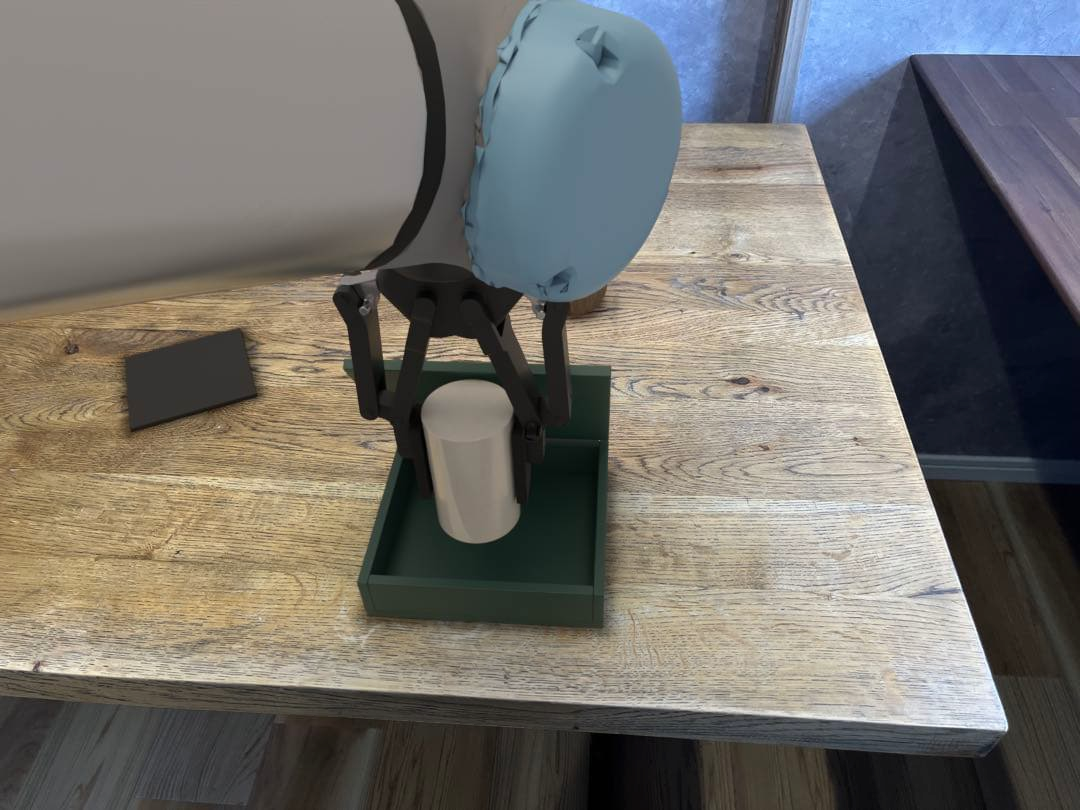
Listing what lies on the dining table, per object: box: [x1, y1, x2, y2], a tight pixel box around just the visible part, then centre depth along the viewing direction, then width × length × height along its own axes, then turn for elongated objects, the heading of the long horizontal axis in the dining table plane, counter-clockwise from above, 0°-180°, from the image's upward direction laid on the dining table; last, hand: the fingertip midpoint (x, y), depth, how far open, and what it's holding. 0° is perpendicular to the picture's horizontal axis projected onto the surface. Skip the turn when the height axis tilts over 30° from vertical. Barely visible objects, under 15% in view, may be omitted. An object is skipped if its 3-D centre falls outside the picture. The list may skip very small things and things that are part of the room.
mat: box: [124, 327, 258, 432], centre depth 84 cm, size 12×12×1 cm
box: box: [356, 438, 610, 629], centre depth 66 cm, size 16×18×4 cm
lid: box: [342, 358, 612, 441], centre depth 62 cm, size 16×18×1 cm
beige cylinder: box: [421, 379, 521, 544], centre depth 56 cm, size 6×6×10 cm
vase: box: [568, 284, 608, 317], centre depth 88 cm, size 7×7×9 cm
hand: (476, 486), depth 57 cm, fingers closed on beige cylinder, 6 cm apart
